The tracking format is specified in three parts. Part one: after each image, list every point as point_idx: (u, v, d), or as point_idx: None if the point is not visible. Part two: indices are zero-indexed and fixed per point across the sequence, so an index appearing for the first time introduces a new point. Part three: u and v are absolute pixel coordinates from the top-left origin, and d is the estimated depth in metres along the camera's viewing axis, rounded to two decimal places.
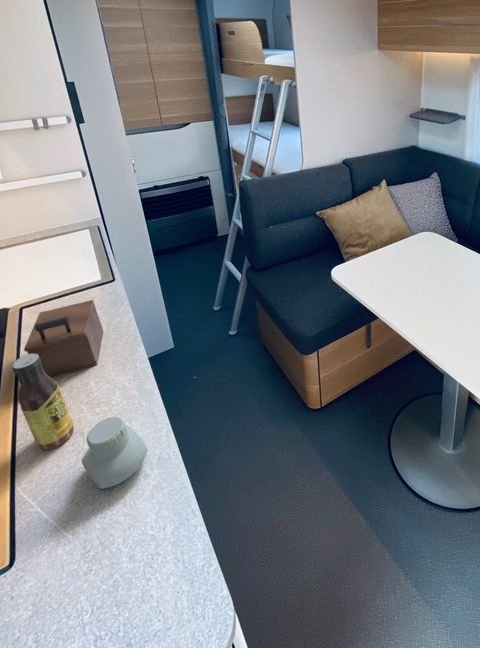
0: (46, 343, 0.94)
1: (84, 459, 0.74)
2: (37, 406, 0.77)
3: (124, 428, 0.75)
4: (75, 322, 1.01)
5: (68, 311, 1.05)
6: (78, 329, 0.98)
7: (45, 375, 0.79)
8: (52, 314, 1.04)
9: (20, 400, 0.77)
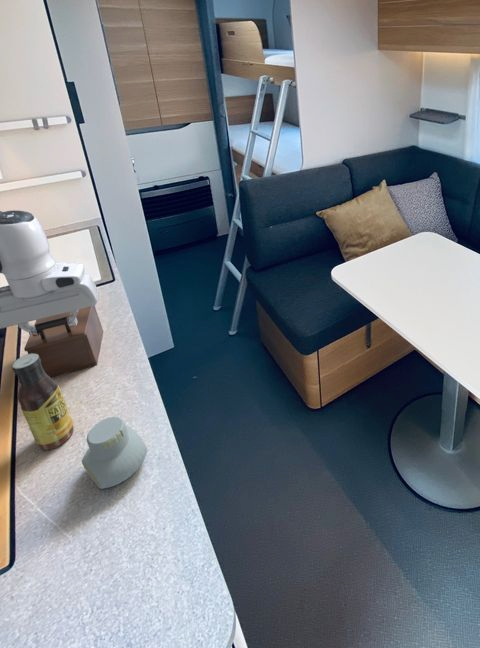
0: (46, 343, 0.94)
1: (84, 459, 0.74)
2: (37, 406, 0.77)
3: (124, 428, 0.75)
4: None
5: None
6: (78, 329, 0.98)
7: (45, 375, 0.79)
8: None
9: (20, 400, 0.77)
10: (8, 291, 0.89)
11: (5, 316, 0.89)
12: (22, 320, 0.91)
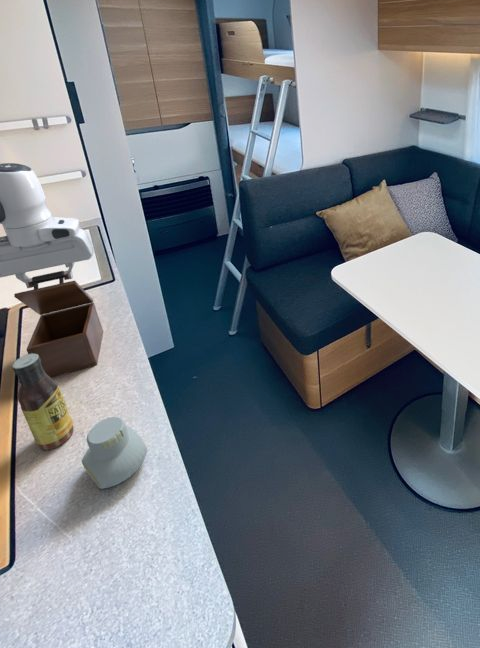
0: (36, 289, 0.95)
1: (84, 459, 0.74)
2: (37, 406, 0.77)
3: (124, 428, 0.75)
4: None
5: None
6: None
7: (45, 375, 0.79)
8: None
9: (20, 400, 0.77)
10: (6, 241, 0.92)
11: (2, 265, 0.92)
12: (19, 270, 0.94)
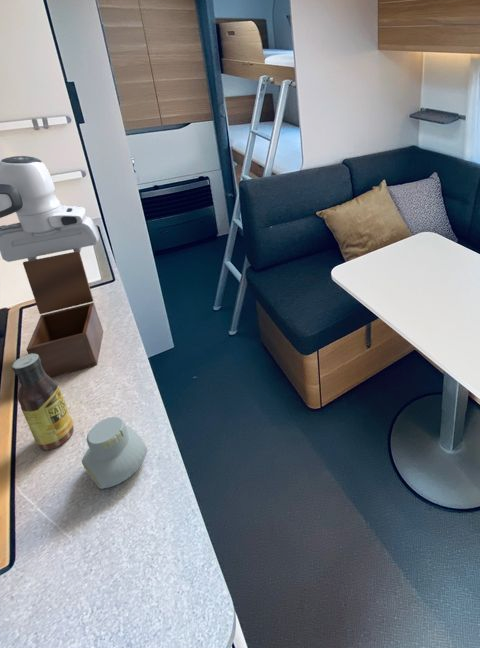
0: (43, 258, 1.03)
1: (84, 459, 0.74)
2: (37, 406, 0.77)
3: (124, 428, 0.75)
4: None
5: None
6: None
7: (45, 375, 0.79)
8: None
9: (20, 400, 0.77)
10: (19, 227, 1.01)
11: (16, 249, 1.01)
12: (31, 254, 1.03)
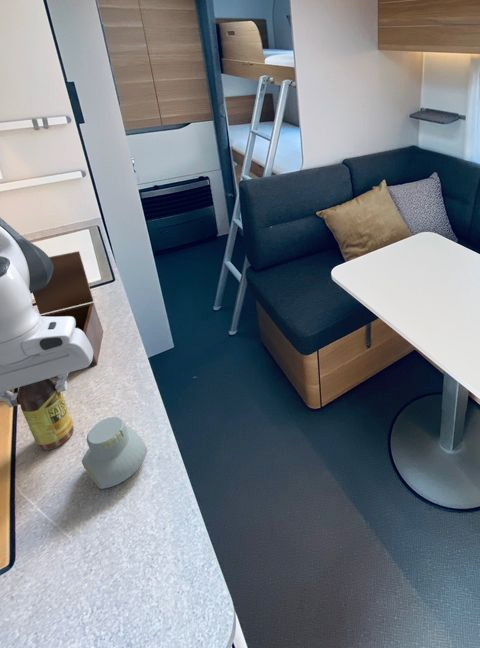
0: None
1: (84, 459, 0.74)
2: (37, 406, 0.77)
3: (124, 428, 0.75)
4: None
5: None
6: None
7: None
8: None
9: (20, 400, 0.77)
10: None
11: None
12: None
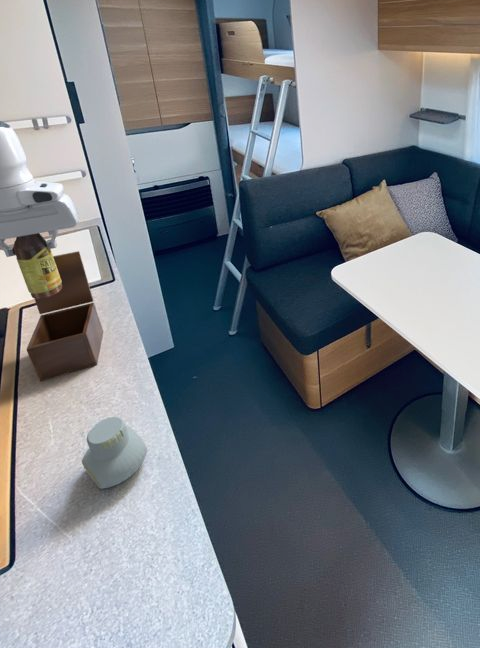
0: None
1: (84, 459, 0.74)
2: (30, 255, 0.91)
3: (124, 428, 0.75)
4: None
5: None
6: None
7: None
8: None
9: (16, 249, 0.90)
10: None
11: None
12: None
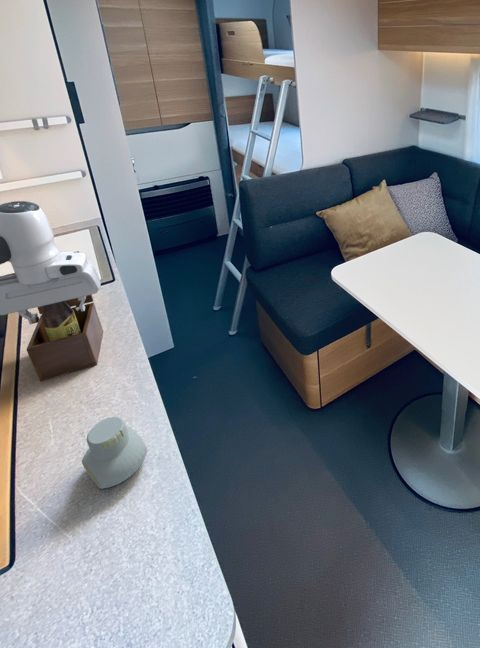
0: None
1: (84, 459, 0.74)
2: (57, 324, 0.98)
3: (124, 428, 0.75)
4: None
5: None
6: None
7: (63, 301, 1.00)
8: None
9: (44, 319, 0.97)
10: (14, 278, 0.93)
11: (11, 302, 0.93)
12: (27, 306, 0.95)
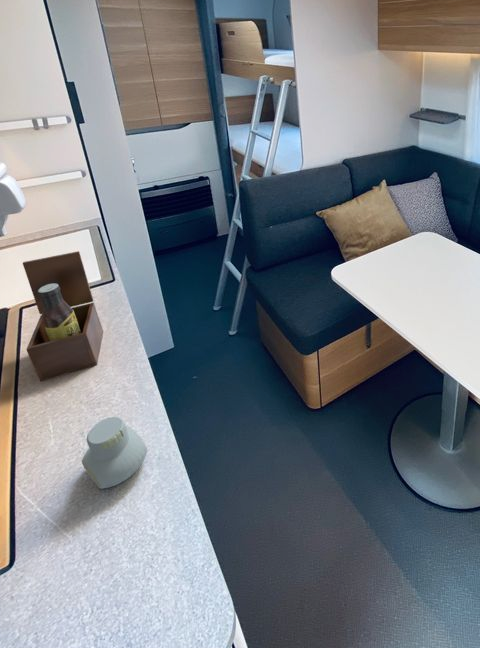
0: (43, 258, 1.03)
1: (84, 459, 0.74)
2: (57, 324, 0.98)
3: (124, 428, 0.75)
4: None
5: None
6: None
7: (63, 301, 1.00)
8: None
9: (44, 319, 0.97)
10: None
11: None
12: None
